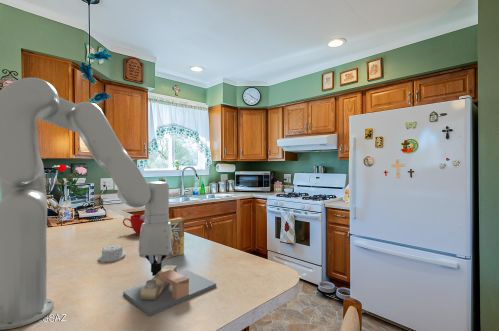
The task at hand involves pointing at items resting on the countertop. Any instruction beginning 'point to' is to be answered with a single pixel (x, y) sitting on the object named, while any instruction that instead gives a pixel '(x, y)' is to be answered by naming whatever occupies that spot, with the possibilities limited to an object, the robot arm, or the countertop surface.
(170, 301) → the slate board
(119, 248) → the mechanical component
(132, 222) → the ceramic cup
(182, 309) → the countertop surface
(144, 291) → the maple link
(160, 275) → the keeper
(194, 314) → the countertop surface
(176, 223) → the candy box
